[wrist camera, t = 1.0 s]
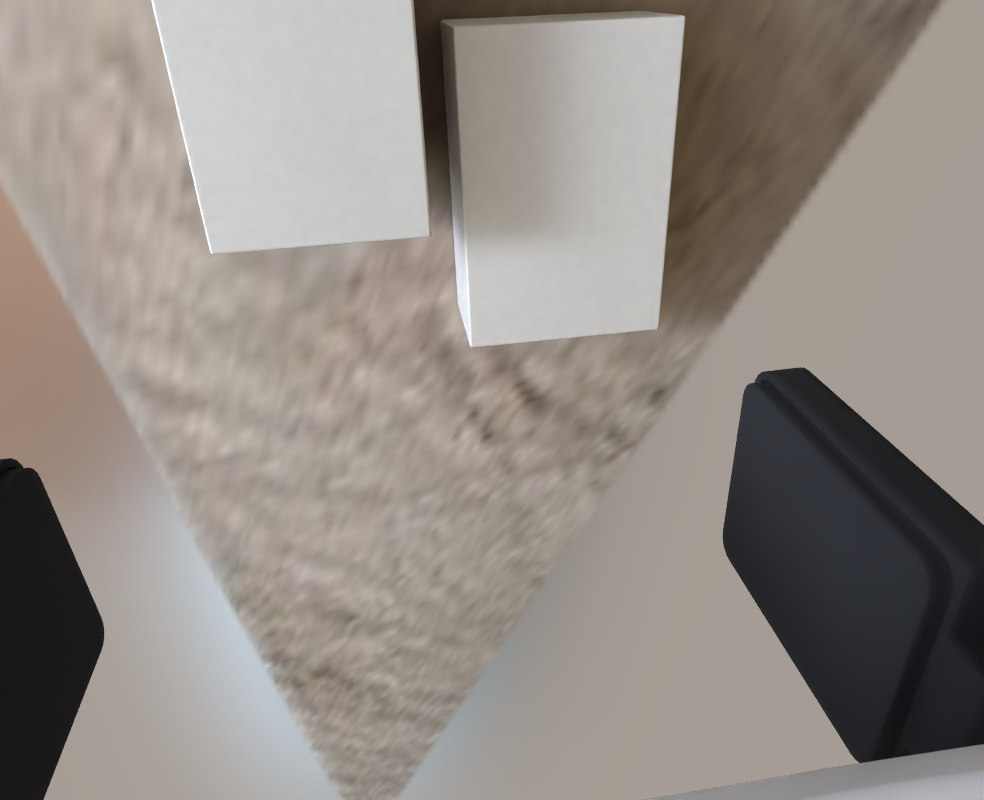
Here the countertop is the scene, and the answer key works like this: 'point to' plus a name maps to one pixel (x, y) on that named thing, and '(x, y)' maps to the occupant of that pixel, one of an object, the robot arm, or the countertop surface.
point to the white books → (560, 170)
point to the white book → (299, 119)
